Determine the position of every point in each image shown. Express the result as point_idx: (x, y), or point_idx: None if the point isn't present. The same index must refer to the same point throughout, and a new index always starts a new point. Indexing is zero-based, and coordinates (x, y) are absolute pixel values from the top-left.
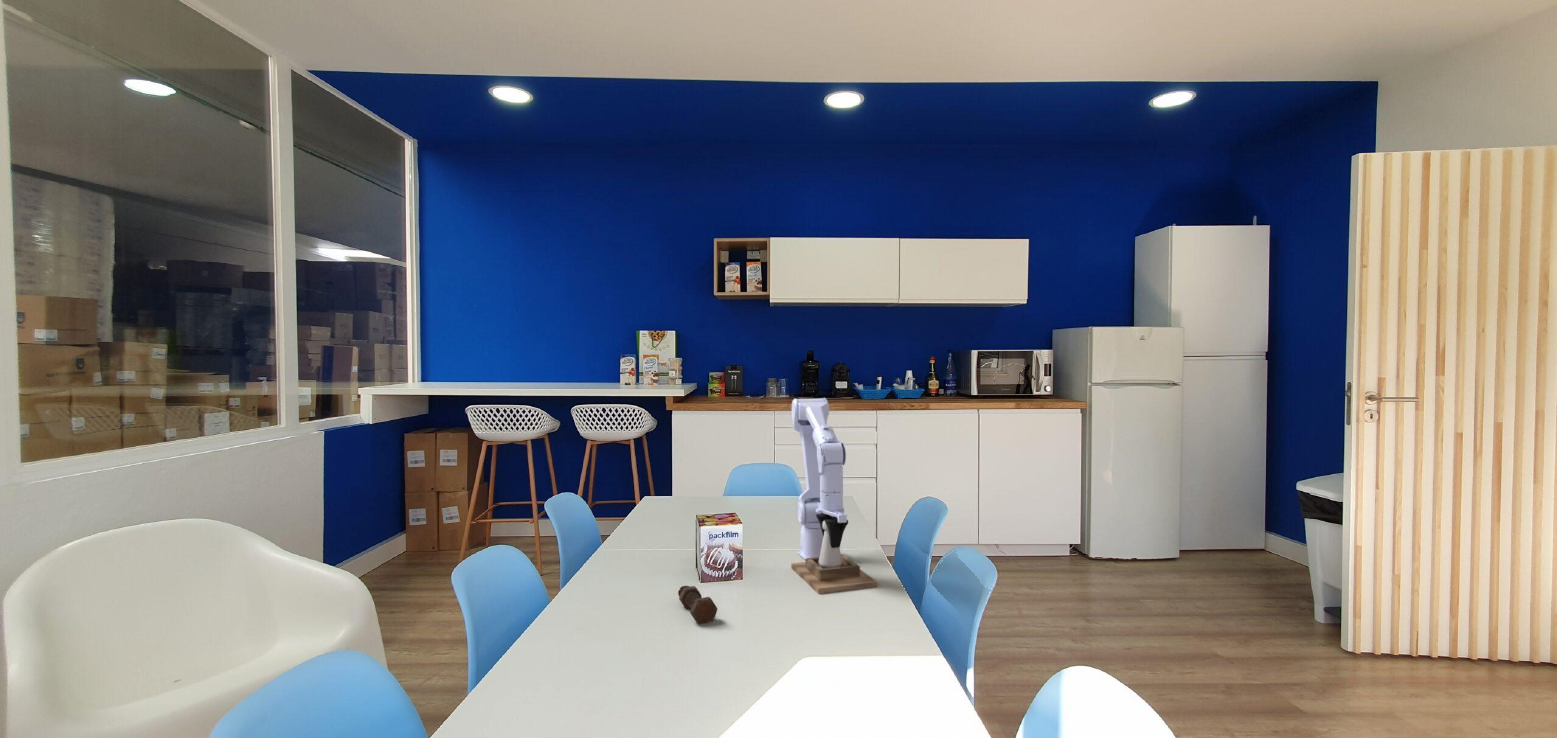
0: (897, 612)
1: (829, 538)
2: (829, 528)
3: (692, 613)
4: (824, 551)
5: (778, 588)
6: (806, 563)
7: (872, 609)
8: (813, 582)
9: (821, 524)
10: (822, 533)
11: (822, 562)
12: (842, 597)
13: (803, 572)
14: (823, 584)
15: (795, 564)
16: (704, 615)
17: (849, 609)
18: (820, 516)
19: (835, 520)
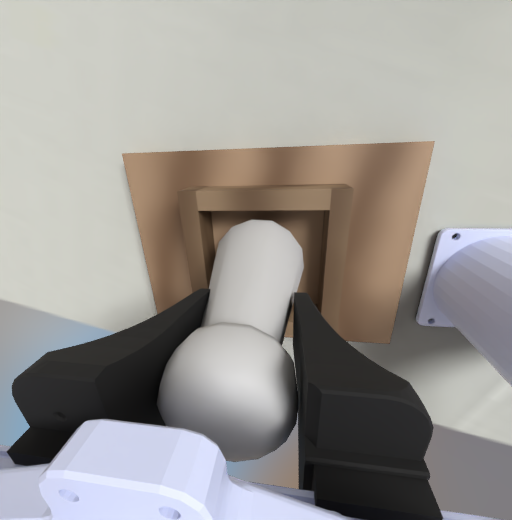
0: (15, 289)
1: (209, 309)
2: (101, 340)
3: None
4: (231, 253)
5: (205, 7)
6: (337, 186)
7: (26, 250)
8: (182, 158)
9: (303, 348)
10: (312, 312)
11: (237, 227)
12: (101, 213)
13: (297, 157)
14: (158, 185)
15: (408, 155)
16: None
17: (21, 198)
18: (314, 410)
19: (25, 434)
